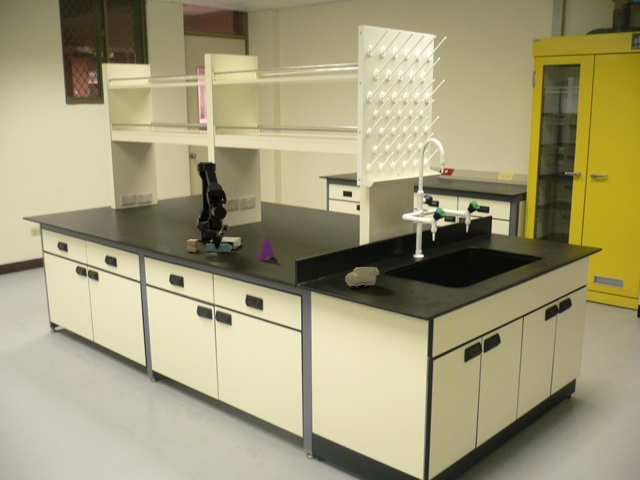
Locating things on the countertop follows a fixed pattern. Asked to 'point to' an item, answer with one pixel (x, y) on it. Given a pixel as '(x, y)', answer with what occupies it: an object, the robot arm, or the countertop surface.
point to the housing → (230, 241)
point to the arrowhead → (266, 250)
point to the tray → (221, 248)
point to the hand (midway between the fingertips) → (216, 249)
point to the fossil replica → (362, 276)
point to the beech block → (192, 245)
